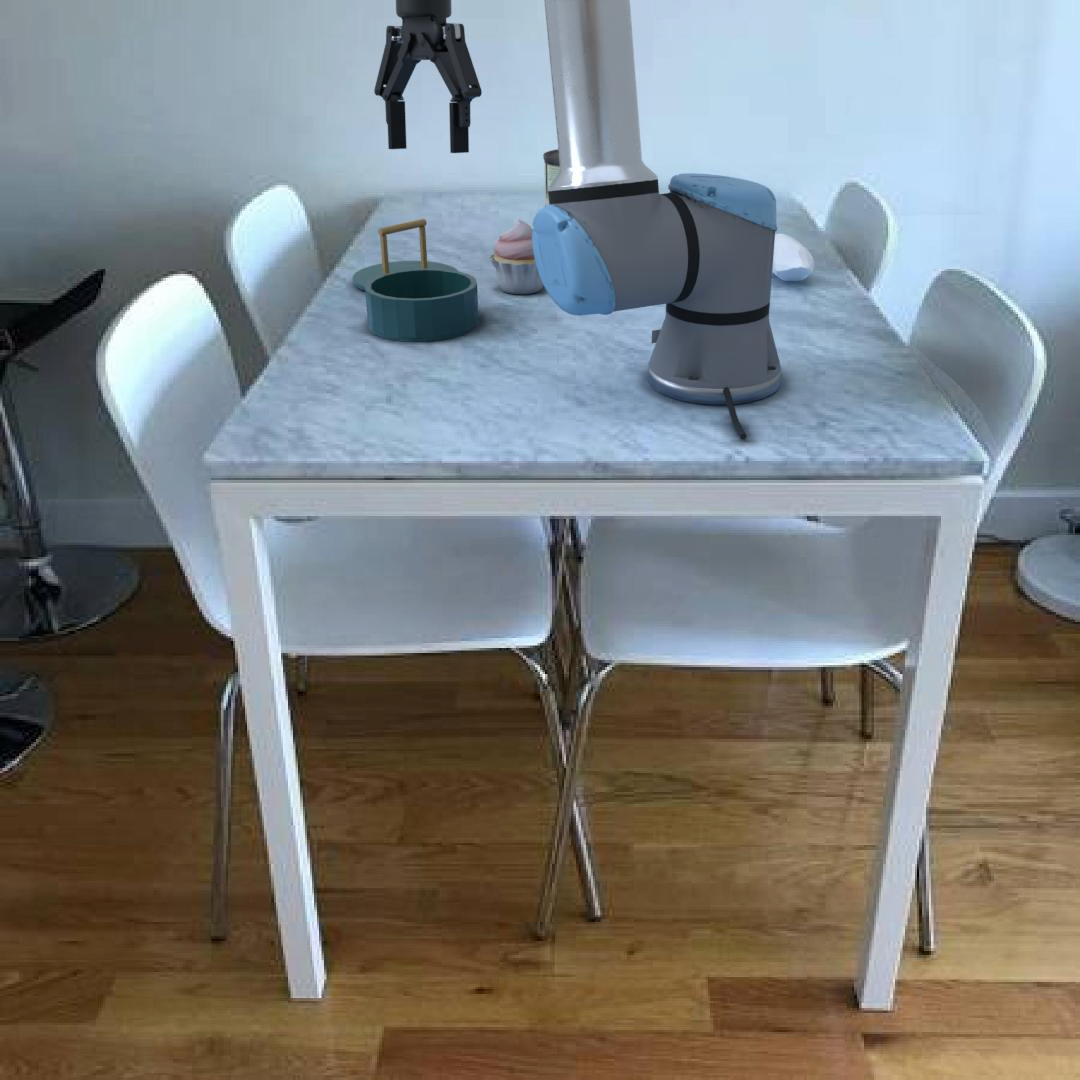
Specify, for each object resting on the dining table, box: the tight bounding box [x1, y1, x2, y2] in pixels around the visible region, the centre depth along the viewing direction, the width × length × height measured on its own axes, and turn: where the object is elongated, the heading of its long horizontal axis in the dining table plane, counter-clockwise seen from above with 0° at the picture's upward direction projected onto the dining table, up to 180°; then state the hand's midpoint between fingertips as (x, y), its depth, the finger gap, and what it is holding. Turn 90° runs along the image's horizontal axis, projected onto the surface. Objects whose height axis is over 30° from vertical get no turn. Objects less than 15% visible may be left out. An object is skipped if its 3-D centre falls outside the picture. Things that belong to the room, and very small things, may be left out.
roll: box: [772, 233, 815, 282], centre depth 178 cm, size 6×12×6 cm, turn 7°
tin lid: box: [352, 218, 459, 291], centre depth 179 cm, size 16×16×9 cm
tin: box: [364, 268, 480, 343], centre depth 163 cm, size 15×15×6 cm
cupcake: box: [488, 218, 545, 295], centre depth 176 cm, size 9×9×10 cm
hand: (427, 151), depth 173 cm, fingers open, 13 cm apart
